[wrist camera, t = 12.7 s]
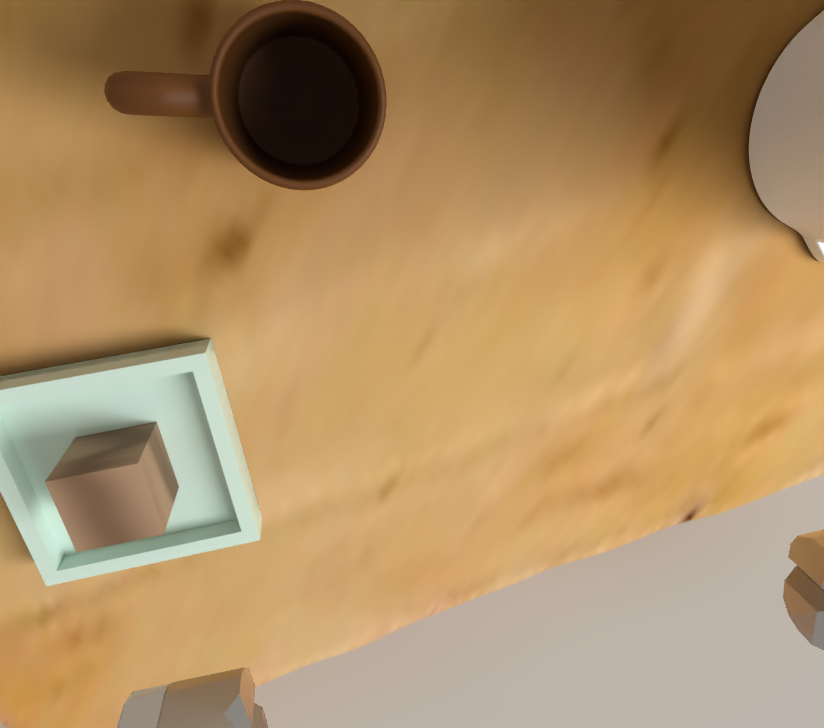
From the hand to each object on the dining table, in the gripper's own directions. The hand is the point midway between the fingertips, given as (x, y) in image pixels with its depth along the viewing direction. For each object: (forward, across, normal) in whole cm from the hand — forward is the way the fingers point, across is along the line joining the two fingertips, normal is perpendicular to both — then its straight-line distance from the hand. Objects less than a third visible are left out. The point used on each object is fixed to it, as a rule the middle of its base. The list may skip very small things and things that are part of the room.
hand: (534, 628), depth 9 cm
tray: (+31, +17, +12) cm, 37 cm away
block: (+30, +17, +12) cm, 37 cm away
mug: (+31, +4, -8) cm, 33 cm away
